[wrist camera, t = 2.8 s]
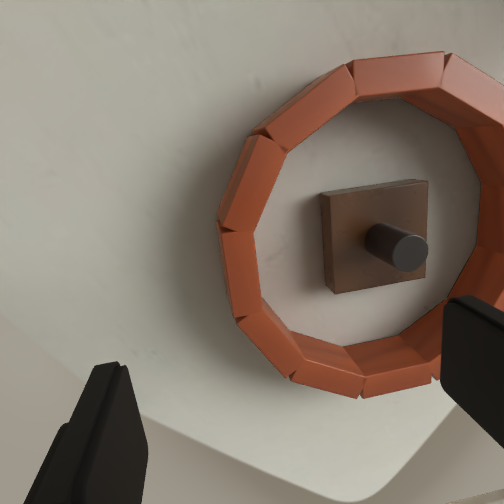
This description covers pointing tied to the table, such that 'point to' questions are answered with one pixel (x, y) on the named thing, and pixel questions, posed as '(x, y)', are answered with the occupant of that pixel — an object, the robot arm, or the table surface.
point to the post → (374, 234)
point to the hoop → (266, 172)
